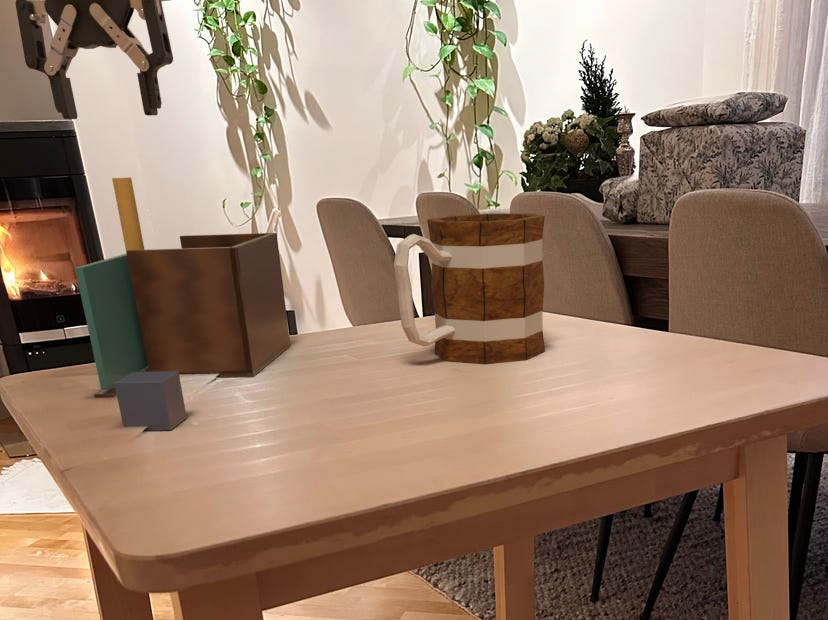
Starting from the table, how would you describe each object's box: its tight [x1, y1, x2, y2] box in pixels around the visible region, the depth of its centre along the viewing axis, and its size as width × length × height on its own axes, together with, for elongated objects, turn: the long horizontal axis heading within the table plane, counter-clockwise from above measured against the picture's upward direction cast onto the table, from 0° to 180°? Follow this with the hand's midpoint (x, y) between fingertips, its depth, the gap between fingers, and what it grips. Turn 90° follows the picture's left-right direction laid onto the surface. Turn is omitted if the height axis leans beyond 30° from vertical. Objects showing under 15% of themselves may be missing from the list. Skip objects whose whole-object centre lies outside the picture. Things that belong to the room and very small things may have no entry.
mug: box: [393, 212, 546, 365], centre depth 110 cm, size 20×14×15 cm
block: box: [114, 371, 188, 432], centre depth 89 cm, size 4×4×4 cm
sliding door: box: [74, 176, 148, 391], centre depth 102 cm, size 2×17×20 cm, turn 177°
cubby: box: [93, 232, 291, 399], centre depth 108 cm, size 14×28×14 cm, turn 177°
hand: (110, 117), depth 98 cm, fingers open, 8 cm apart
